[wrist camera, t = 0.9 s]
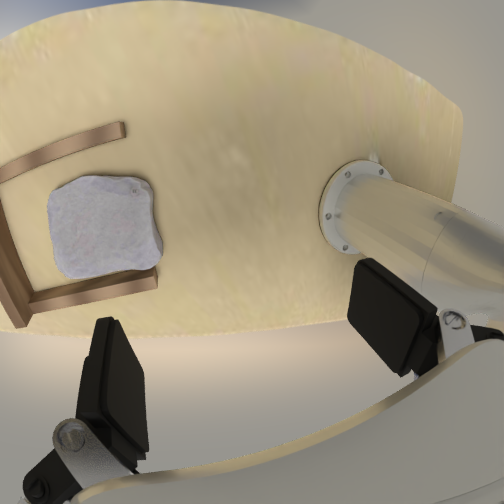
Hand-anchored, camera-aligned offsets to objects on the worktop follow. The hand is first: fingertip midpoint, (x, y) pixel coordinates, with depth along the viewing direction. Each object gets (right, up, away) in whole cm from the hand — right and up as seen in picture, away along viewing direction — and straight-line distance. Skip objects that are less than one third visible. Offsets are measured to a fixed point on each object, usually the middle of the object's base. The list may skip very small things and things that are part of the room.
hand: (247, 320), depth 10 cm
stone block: (-15, +6, +15) cm, 22 cm away
